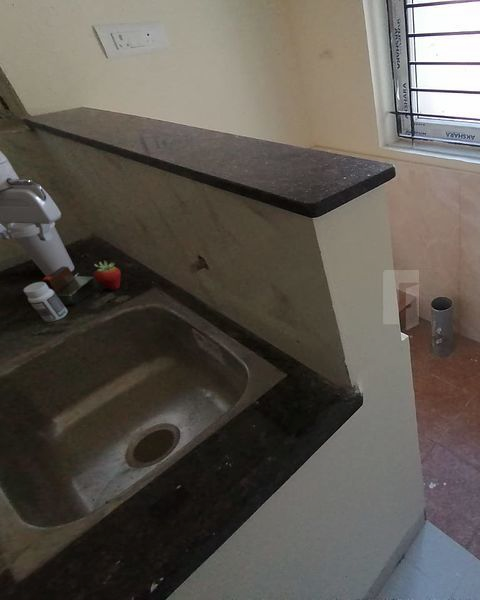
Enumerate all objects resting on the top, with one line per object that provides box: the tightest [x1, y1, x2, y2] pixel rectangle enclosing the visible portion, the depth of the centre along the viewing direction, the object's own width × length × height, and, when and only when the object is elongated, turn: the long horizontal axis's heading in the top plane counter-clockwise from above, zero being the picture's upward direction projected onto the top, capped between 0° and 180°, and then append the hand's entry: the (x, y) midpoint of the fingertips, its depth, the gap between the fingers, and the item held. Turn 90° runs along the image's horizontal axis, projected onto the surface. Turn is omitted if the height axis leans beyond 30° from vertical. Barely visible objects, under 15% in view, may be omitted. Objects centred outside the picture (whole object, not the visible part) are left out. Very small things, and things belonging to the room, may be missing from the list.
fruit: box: [93, 259, 122, 291], centre depth 96 cm, size 5×5×8 cm
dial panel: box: [55, 272, 100, 306], centre depth 96 cm, size 10×10×3 cm
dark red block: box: [42, 267, 75, 292], centre depth 94 cm, size 6×2×4 cm, turn 175°
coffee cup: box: [7, 221, 75, 277], centre depth 101 cm, size 10×10×15 cm
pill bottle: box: [23, 281, 69, 323], centre depth 88 cm, size 5×5×8 cm
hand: (27, 239), depth 87 cm, fingers open, 8 cm apart
